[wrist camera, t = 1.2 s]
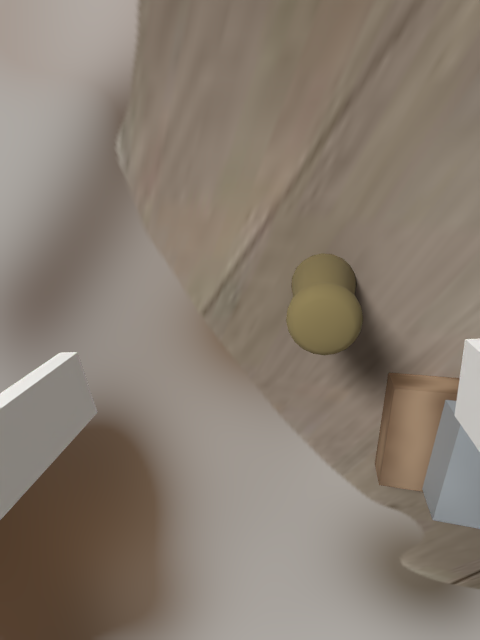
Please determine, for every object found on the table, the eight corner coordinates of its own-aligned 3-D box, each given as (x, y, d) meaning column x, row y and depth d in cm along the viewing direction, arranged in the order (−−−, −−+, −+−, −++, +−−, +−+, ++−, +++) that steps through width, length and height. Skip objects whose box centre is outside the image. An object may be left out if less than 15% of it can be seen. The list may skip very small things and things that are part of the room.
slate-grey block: (495, 405, 29) (517, 431, 25) (465, 496, 33) (481, 529, 29) (445, 399, 29) (460, 424, 26) (422, 489, 33) (432, 520, 30)
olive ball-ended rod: (303, 321, 33) (296, 377, 23) (282, 267, 32) (264, 301, 22) (364, 303, 31) (384, 355, 21) (344, 243, 29) (356, 269, 19)
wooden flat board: (523, 380, 31) (546, 402, 28) (492, 476, 35) (509, 505, 32) (387, 370, 33) (394, 388, 30) (374, 460, 38) (379, 484, 34)
